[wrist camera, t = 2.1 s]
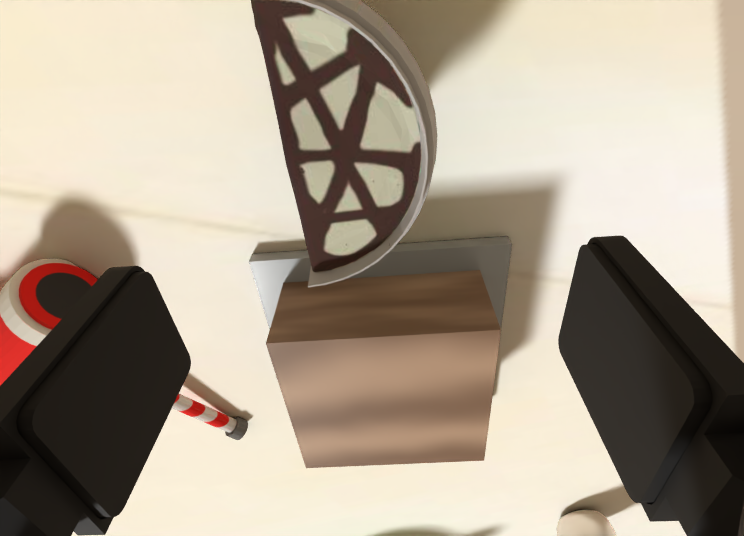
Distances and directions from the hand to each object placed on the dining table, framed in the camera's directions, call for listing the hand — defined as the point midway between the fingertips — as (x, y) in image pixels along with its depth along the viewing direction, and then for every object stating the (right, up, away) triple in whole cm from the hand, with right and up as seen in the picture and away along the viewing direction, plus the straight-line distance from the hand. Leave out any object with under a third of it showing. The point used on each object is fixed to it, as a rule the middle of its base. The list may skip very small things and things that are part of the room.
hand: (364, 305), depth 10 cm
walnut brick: (+1, -5, +24) cm, 25 cm away
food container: (0, +11, +15) cm, 18 cm away
